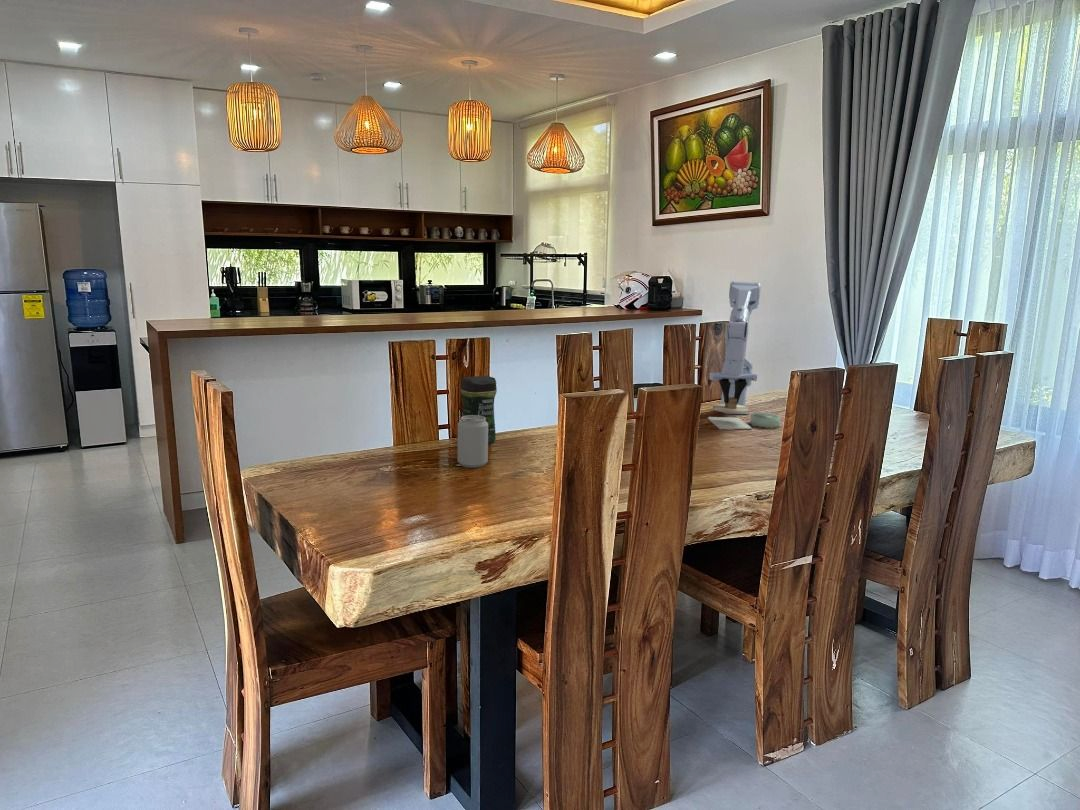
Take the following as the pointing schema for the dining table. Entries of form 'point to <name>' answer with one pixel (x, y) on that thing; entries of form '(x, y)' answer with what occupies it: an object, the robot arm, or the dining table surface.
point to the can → (472, 441)
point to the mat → (729, 423)
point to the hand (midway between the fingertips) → (730, 402)
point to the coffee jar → (480, 400)
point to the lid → (730, 407)
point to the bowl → (765, 419)
